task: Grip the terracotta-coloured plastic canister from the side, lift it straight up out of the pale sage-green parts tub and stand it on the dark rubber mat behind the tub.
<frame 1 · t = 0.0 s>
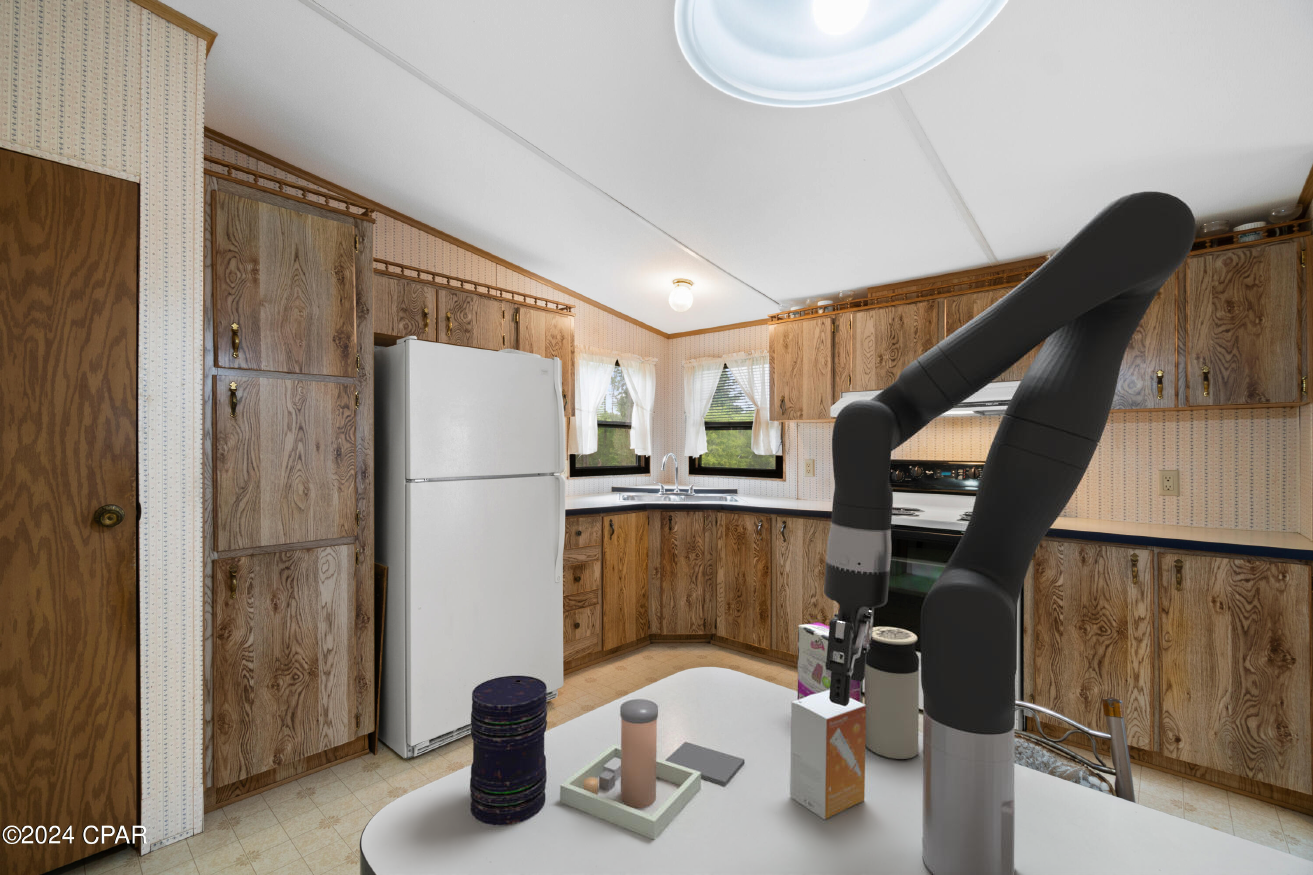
hand: (847, 690, 75), 17 cm above the table, tool pointing down, fingers open, 8 cm apart
canister: (638, 796, 81), resting in parts tub
dark blue barrel: (508, 804, 79), on the table
mat: (704, 764, 89), on the table
parts tub: (632, 794, 81), on the table
small box: (827, 800, 81), on the table
travel mug: (890, 748, 95), on the table
candy bar box: (828, 730, 101), on the table
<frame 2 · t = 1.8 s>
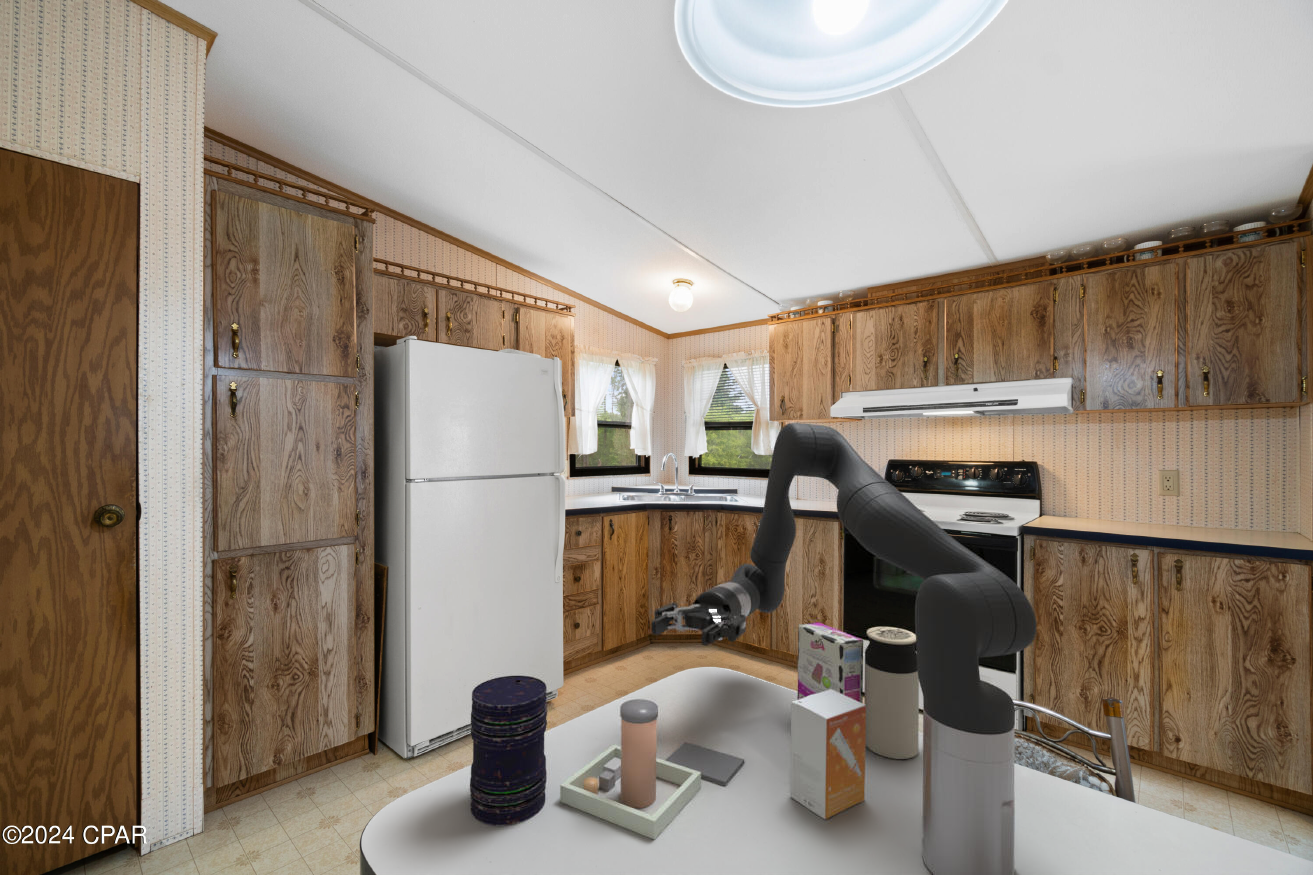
hand: (678, 633, 91), 19 cm above the table, tool horizontal, fingers open, 8 cm apart
nothing on the table moved.
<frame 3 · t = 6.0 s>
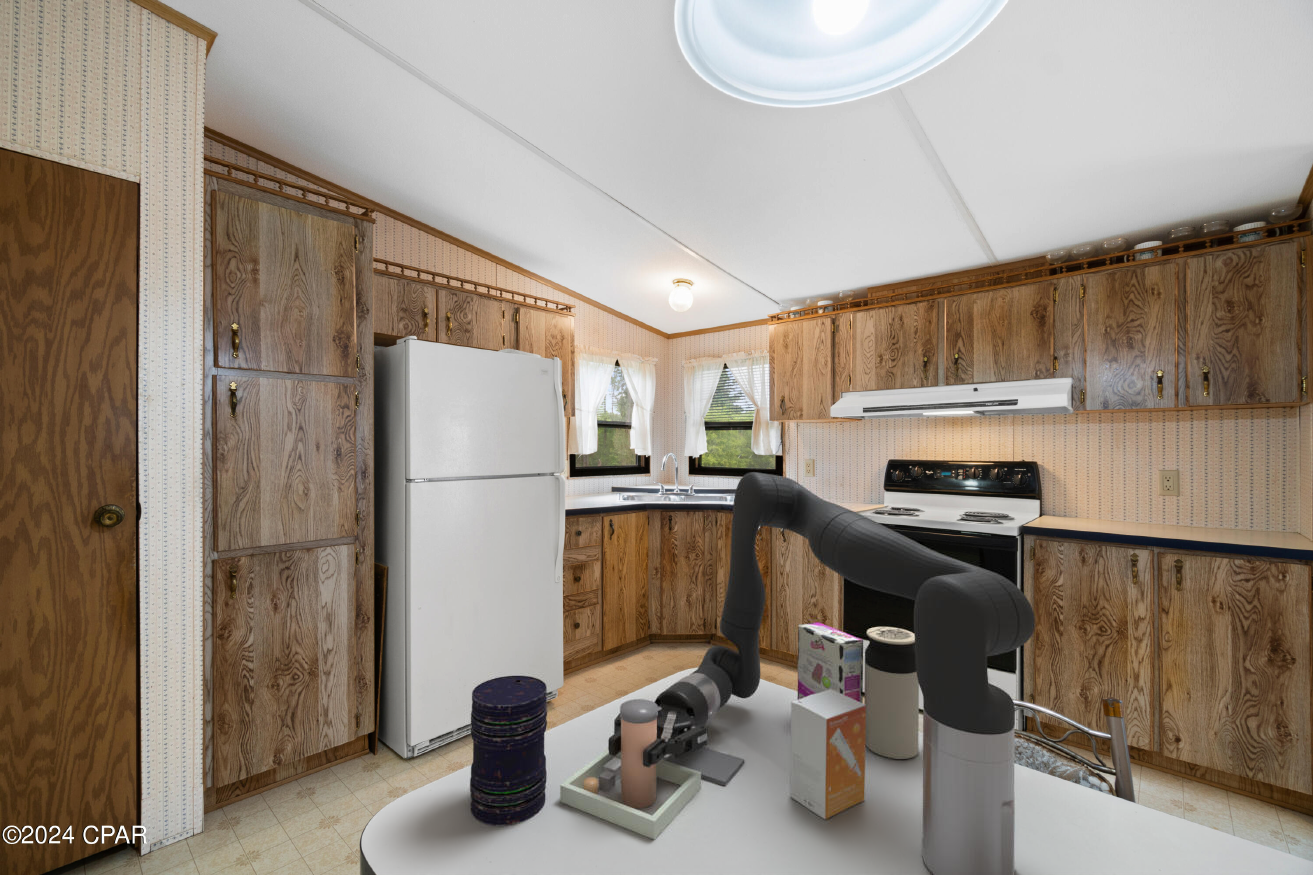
hand: (628, 753, 79), 7 cm above the table, tool horizontal, fingers closed on canister, 4 cm apart
canister: (638, 796, 81), resting in parts tub, touching gripper
everything else where it was.
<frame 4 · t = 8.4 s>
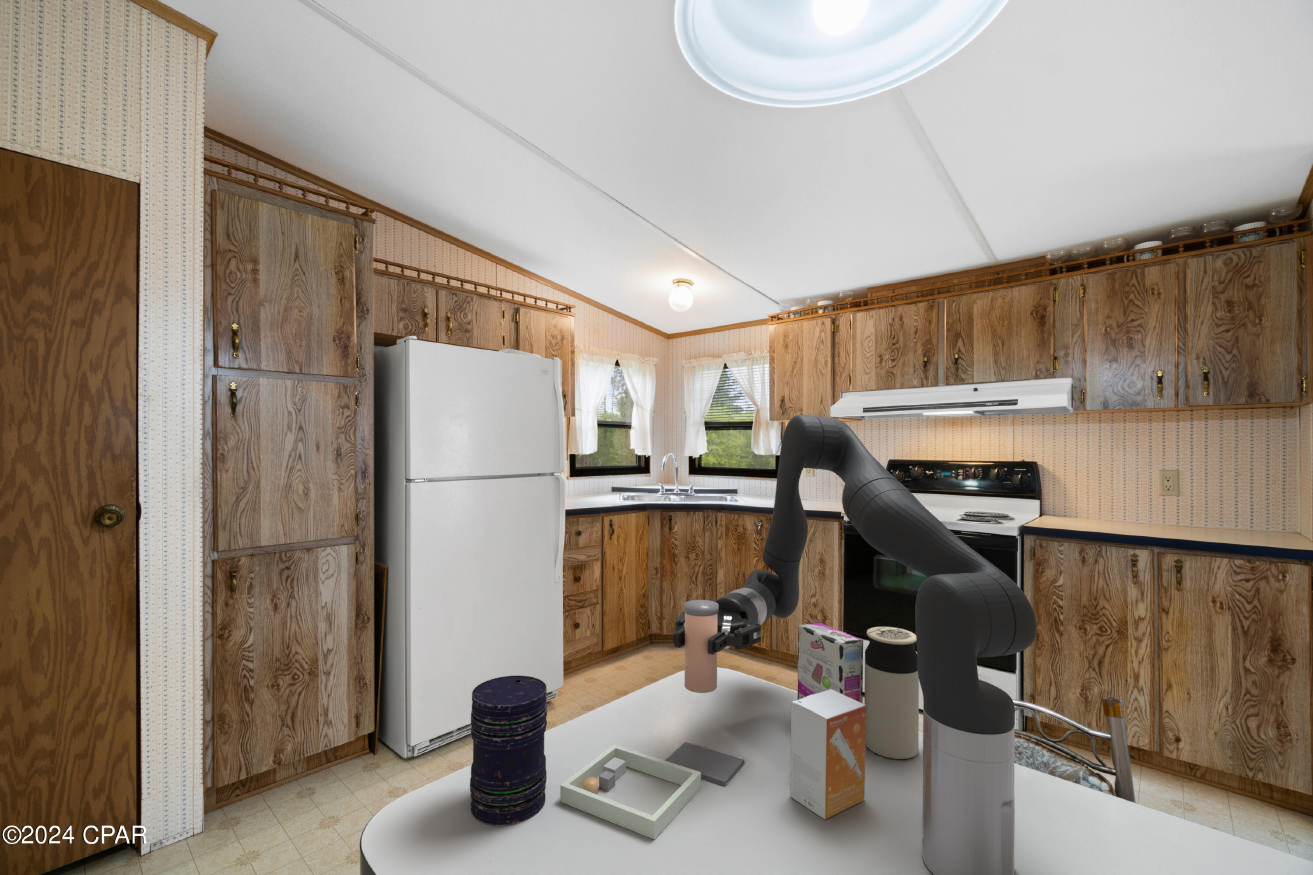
hand: (693, 643, 86), 19 cm above the table, tool horizontal, fingers closed on canister, 4 cm apart
canister: (700, 685, 89), point 12 cm above the table, touching gripper
everything else where it was.
when the fingers open (9 cm above the table, at t = 10.8 s): canister drops 1 cm, resting on mat.
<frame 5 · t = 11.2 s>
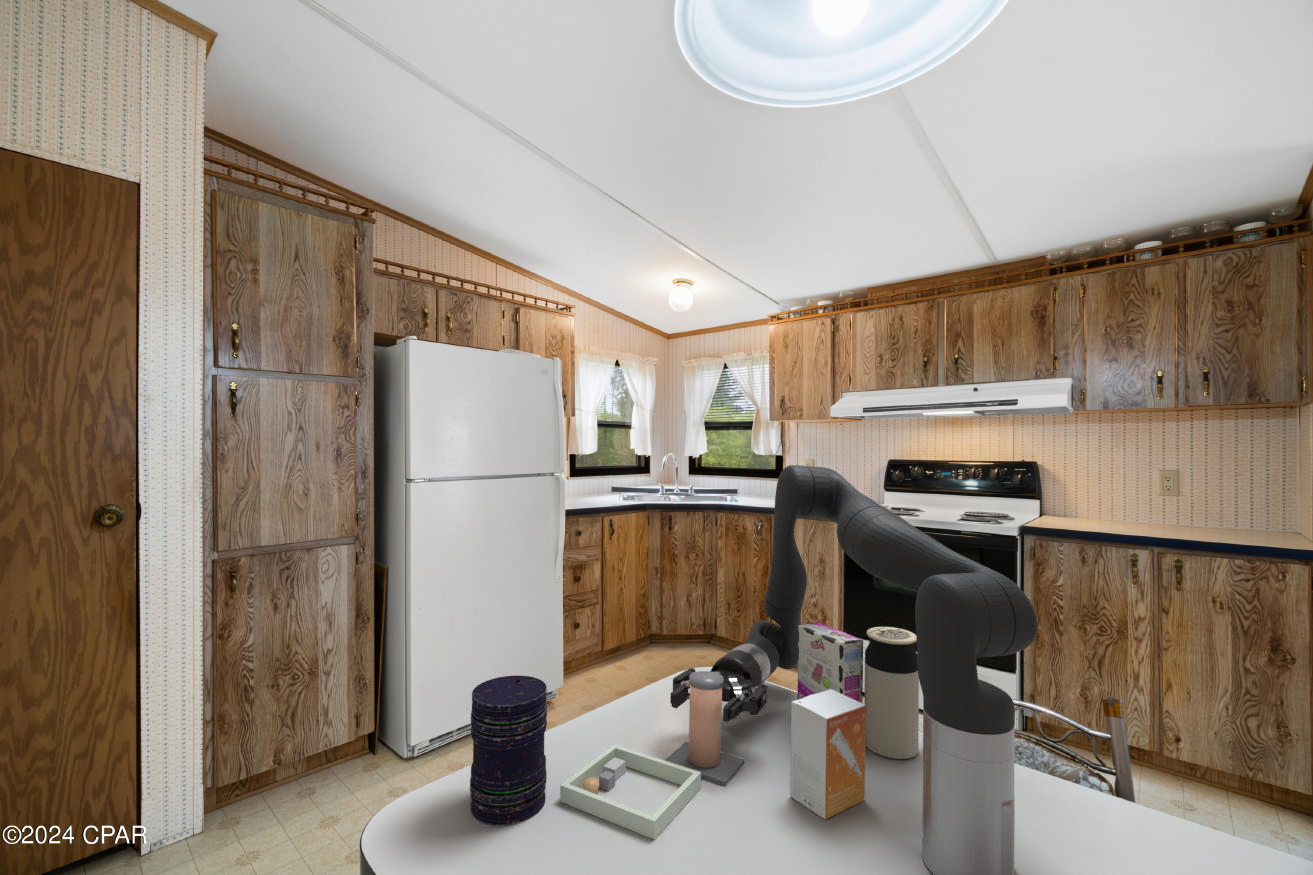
hand: (698, 708, 88), 9 cm above the table, tool horizontal, fingers open, 8 cm apart
canister: (704, 759, 89), point 1 cm above the table, touching mat
everything else where it was.
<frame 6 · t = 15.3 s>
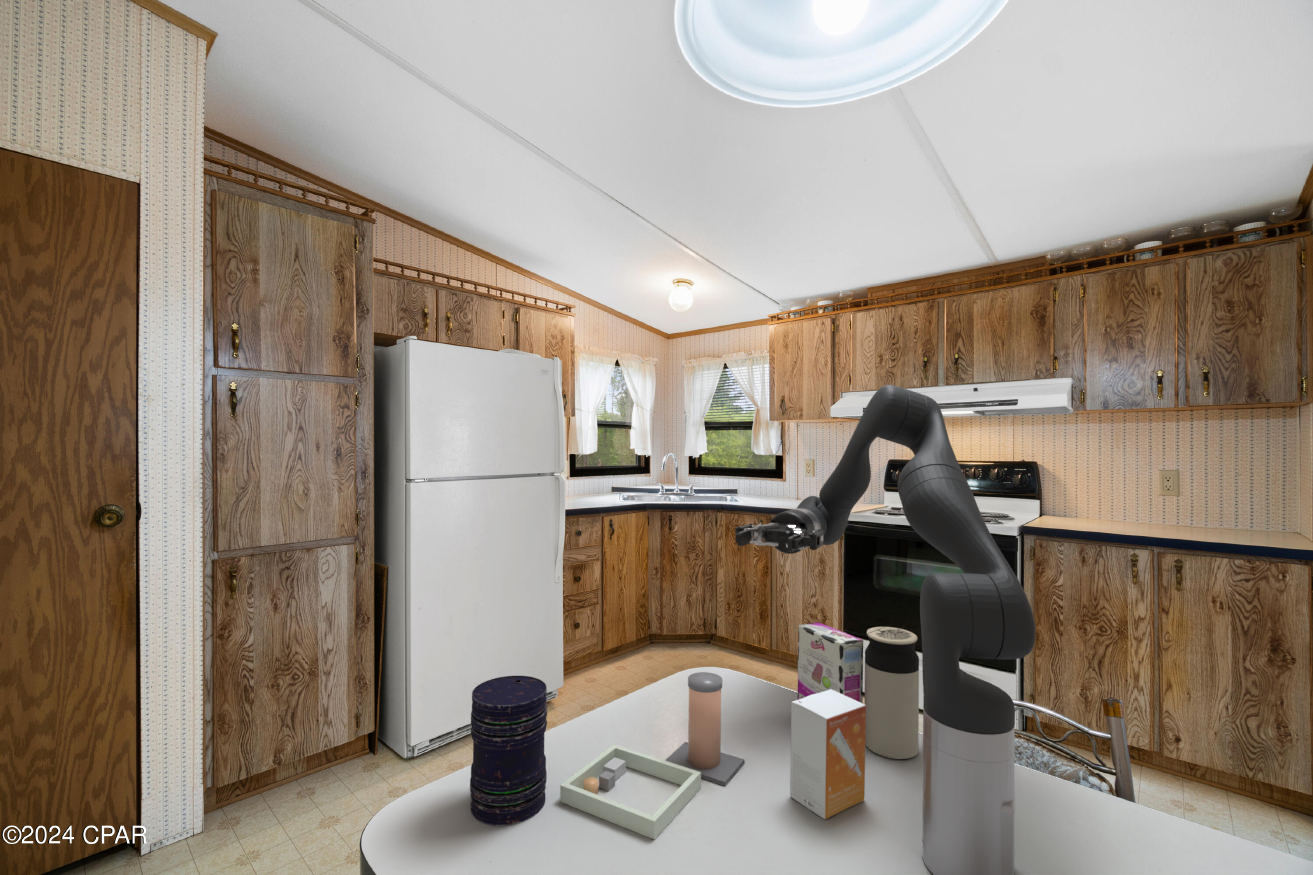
hand: (764, 542, 96), 32 cm above the table, tool horizontal, fingers open, 8 cm apart
nothing on the table moved.
at the end: canister inside the target area (0.1 cm from its centre), point 0.6 cm above the table; canister tilted 0°; canister moved 12.7 cm from its start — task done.
